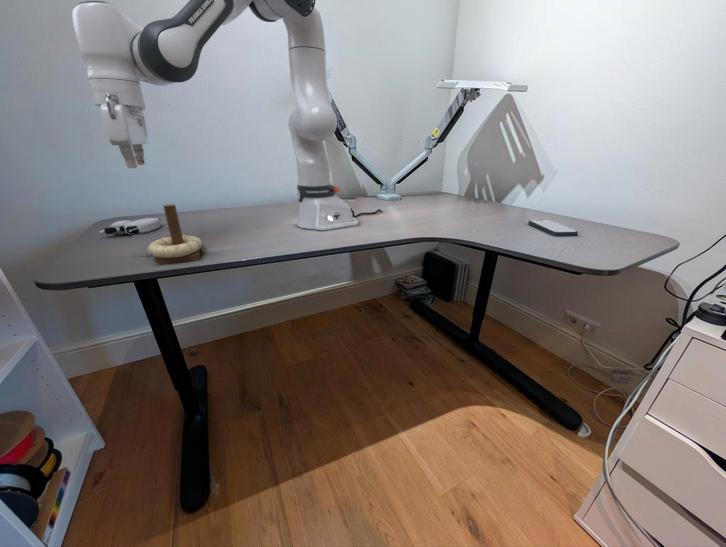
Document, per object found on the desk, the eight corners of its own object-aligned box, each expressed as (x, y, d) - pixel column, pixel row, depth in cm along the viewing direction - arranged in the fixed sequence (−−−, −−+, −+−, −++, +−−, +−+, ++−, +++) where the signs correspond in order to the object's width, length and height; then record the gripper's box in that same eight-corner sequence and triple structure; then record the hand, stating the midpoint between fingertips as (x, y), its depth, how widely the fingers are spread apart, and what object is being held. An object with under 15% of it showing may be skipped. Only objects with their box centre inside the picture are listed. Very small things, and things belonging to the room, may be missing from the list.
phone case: (579, 236, 103) (548, 223, 118) (580, 231, 102) (549, 219, 117) (553, 237, 102) (526, 224, 117) (555, 232, 102) (527, 219, 116)
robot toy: (99, 242, 96) (146, 238, 96) (93, 227, 94) (141, 224, 94) (127, 231, 107) (169, 228, 107) (122, 218, 106) (165, 215, 105)
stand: (201, 249, 88) (191, 200, 83) (199, 259, 80) (187, 207, 75) (164, 253, 85) (151, 203, 79) (158, 264, 77) (144, 210, 72)
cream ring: (203, 242, 89) (201, 232, 88) (201, 255, 79) (199, 244, 78) (154, 247, 84) (151, 236, 83) (146, 262, 74) (142, 250, 73)
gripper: (125, 92, 59) (145, 169, 64) (145, 103, 76) (159, 163, 82) (83, 90, 57) (108, 170, 62) (113, 101, 74) (130, 163, 79)
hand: (137, 166), depth 72 cm, fingers open, 8 cm apart
